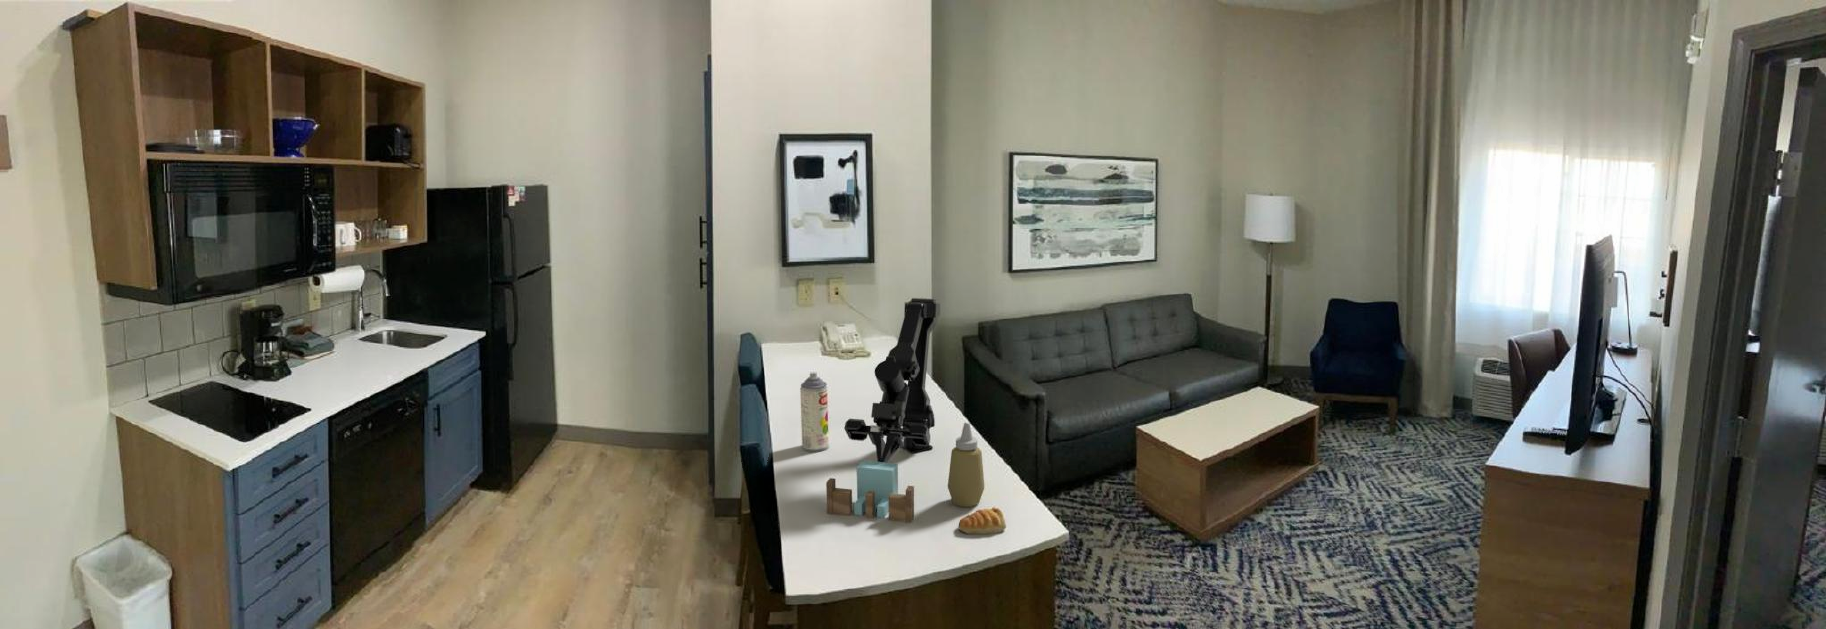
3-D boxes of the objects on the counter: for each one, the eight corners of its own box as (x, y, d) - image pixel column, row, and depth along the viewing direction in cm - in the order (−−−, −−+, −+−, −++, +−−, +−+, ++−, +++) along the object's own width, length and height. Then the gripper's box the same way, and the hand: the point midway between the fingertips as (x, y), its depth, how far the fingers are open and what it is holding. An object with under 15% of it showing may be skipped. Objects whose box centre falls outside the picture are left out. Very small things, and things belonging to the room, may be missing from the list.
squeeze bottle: (988, 497, 182) (989, 419, 178) (979, 512, 174) (980, 431, 171) (953, 492, 184) (954, 415, 181) (942, 506, 177) (943, 427, 173)
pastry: (966, 539, 162) (966, 521, 162) (952, 525, 168) (952, 508, 168) (1008, 531, 166) (1009, 514, 165) (993, 518, 172) (993, 501, 171)
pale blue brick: (863, 498, 181) (862, 460, 179) (898, 502, 179) (897, 463, 177) (851, 514, 173) (850, 474, 172) (887, 518, 171) (887, 477, 170)
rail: (830, 508, 176) (830, 477, 175) (914, 517, 172) (914, 486, 170) (827, 513, 174) (826, 482, 172) (911, 522, 169) (911, 490, 168)
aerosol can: (824, 452, 208) (822, 376, 204) (798, 451, 210) (796, 375, 206) (831, 443, 215) (829, 369, 211) (806, 441, 216) (804, 368, 212)
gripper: (846, 384, 183) (830, 447, 174) (927, 389, 179) (915, 454, 170) (857, 407, 192) (843, 469, 183) (935, 413, 188) (924, 476, 179)
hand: (880, 467), depth 179 cm, fingers closed, pressing on pale blue brick
